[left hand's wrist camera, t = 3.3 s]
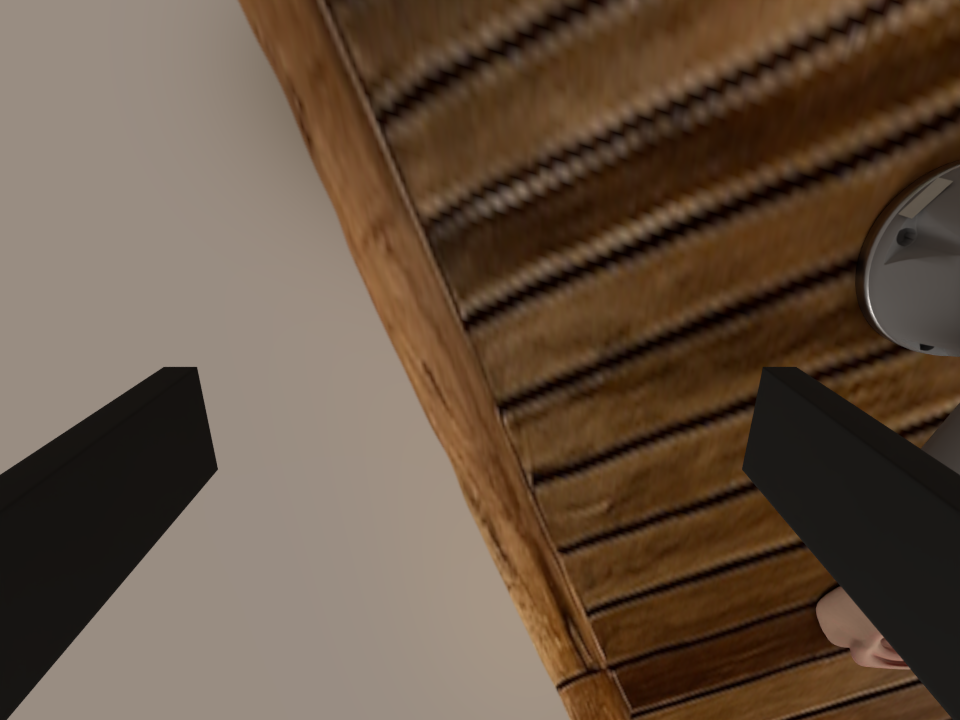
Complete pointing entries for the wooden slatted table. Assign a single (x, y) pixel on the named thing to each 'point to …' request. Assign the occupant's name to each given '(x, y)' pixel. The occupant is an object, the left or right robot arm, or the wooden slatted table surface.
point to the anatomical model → (855, 632)
